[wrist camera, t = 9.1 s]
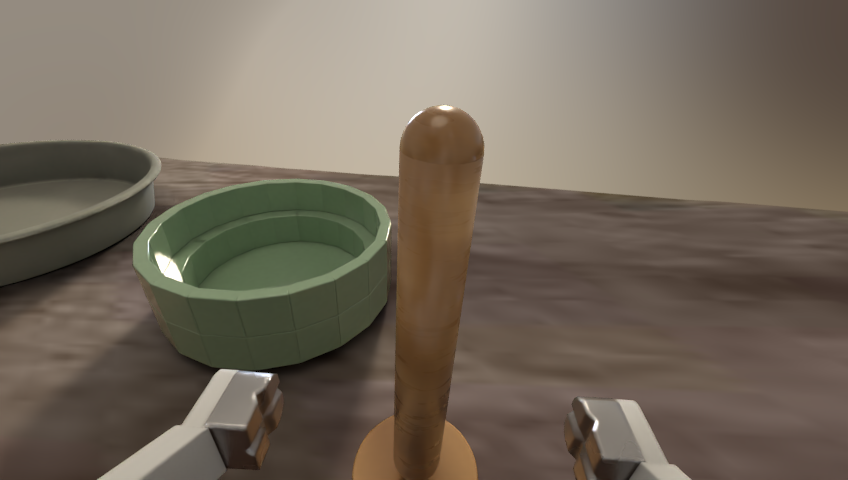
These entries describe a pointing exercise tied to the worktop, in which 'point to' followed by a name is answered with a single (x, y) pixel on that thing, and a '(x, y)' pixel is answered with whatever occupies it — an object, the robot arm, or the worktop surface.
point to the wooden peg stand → (428, 300)
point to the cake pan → (69, 201)
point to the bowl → (266, 271)
